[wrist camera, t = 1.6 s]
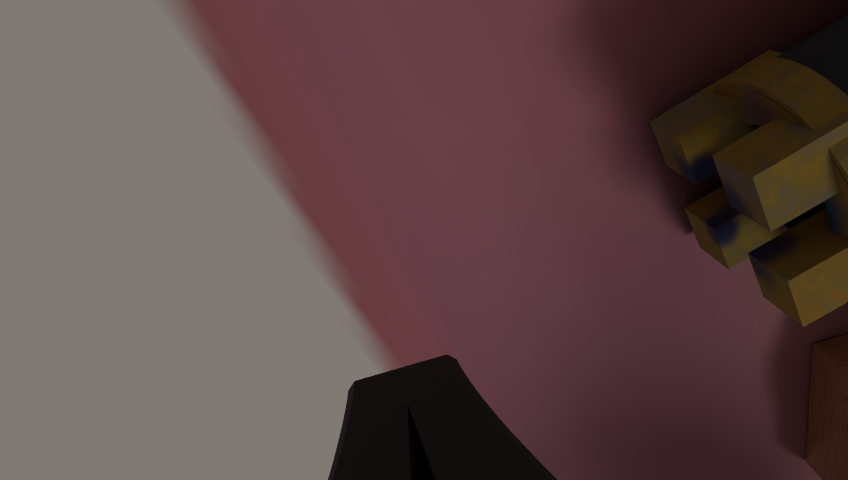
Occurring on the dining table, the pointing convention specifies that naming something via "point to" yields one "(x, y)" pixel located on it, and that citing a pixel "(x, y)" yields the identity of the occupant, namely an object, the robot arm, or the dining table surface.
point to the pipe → (829, 409)
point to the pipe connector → (773, 170)
